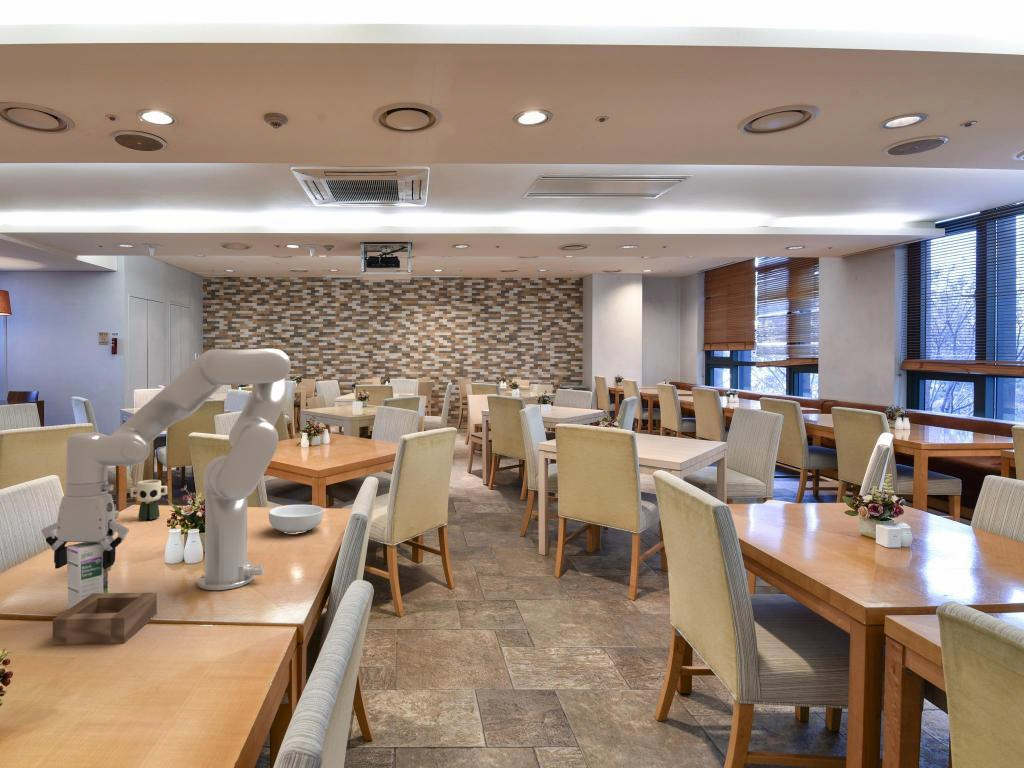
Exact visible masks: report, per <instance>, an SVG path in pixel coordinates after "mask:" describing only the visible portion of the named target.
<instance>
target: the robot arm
mask: <svg viewBox="0 0 1024 768" xmlns="http://www.w3.org/2000/svg"><path fill="white" fill-rule="evenodd" d="M291 368H292V364H291V360H290V358H289V355H287V354H286V352H284V351H283V350H282V349H279V348H272V347H271V348H264V347H263V348H254V349H253V348H251V349H246V348H245V349H225V348H221V349H218V348H217V349H215V348H214V349H209V350H207V351H205V352H203V353H202V354H201V355H199V356H198V357H197V358H196V359H195V360H193V361H192V363H190V365H188V366H187V367H186V368H185V369H184V370H183V371H182V372H181V373H180V374H179V375H177V376H176V377H175V378H174V379H172V381H171V382H170V383H168V384H167V385H166V386H165V387H164V388H163V389H161V390H160V392H158V393H157V394H156V395H154V397H152V398H151V399H150V400H149V401H148V402H147V403H146V404H144V405H143V406H142V407H140V408H139V409H138V410H137V411H136V412H135V413H133V414H132V415H131V416H130V417H129V418H128V419H126V420H125V422H123V423H122V425H121V426H119V427H118V428H117V429H116V430H115V431H113V433H112V434H111V435H107V434H104V433H101V432H79V433H74V434H71V435H69V436H68V437H67V439H66V458H65V459H66V460H65V461H66V464H65V465H66V466H65V468H66V469H65V495H63V496H62V498H61V501H60V504H59V507H58V508H59V509H58V513H57V514H58V515H57V521H56V522H55V523H53V524H50V525H48V526H45V527H44V528H42V529H41V533H42V536H43V538H45V542H46V543H47V544H48V545H49V546H50V547H51V550H52V551H53V552H54V553H53V563H54V569H60V568H63V567H64V566H67V546H68V545H67V544H68V543H83V542H100V543H101V544H102V545H103V546H104V548H105V549H106V550H105V551H103V569H107V568H109V567H110V566H113V565H114V564H115V561H116V551H117V550H116V548H117V547H119V545H120V544H121V543H122V542H123V541H124V540H125V538H126V536H127V535H128V533H129V531H130V530H129V528H128V527H126V526H124V525H122V524H120V523H118V522H116V519H115V509H116V508H115V505H114V503H115V502H114V500H113V499H114V498H113V496H112V494H111V493H109V492H110V491H113V490H114V484H110V483H109V480H108V479H109V478H108V477H109V473H108V472H109V466H118V467H133V466H137V465H140V464H141V463H143V462H145V461H146V460H147V459H148V457H149V455H150V452H151V446H150V445H151V443H152V442H153V441H155V439H156V438H158V437H159V436H160V435H161V434H163V432H165V430H167V429H169V427H171V426H173V425H174V424H177V423H178V422H180V421H182V420H185V419H187V418H189V417H190V416H191V415H194V413H195V412H196V411H197V410H198V409H200V408H201V406H203V404H205V402H207V400H209V399H210V398H211V397H212V396H213V395H214V394H215V393H216V392H217V391H218V390H219V389H220V388H221V387H223V386H240V385H241V386H242V385H252V389H251V393H250V396H249V398H248V400H247V401H246V404H245V406H244V407H243V408H242V411H241V413H240V414H239V416H238V417H237V419H236V421H235V423H234V424H233V426H232V428H231V430H230V431H229V435H228V440H229V445H230V446H231V447H232V448H231V449H230V451H229V452H228V455H227V454H226V455H219V456H217V457H215V458H213V459H212V460H211V461H210V462H209V463H208V464H207V465H206V467H205V470H204V473H203V481H202V482H203V491H204V505H205V506H204V507H205V508H204V512H205V513H204V514H205V515H204V517H205V522H204V523H205V525H204V531H205V533H204V574H203V575H201V576H200V577H199V578H198V579H197V586H198V588H200V589H202V590H208V591H225V590H231V589H237V588H239V587H242V586H245V585H247V584H249V583H250V582H252V581H253V580H254V576H263V575H264V574H265V568H264V567H263V566H262V565H261V564H260V565H259V564H258V565H256V564H255V565H253V564H251V563H252V561H251V559H248V497H249V496H250V495H251V494H253V492H254V491H255V489H256V488H257V487H258V485H259V484H260V481H261V480H262V478H263V476H264V474H265V472H266V471H267V469H268V467H269V466H270V464H271V461H272V460H273V458H274V456H275V454H276V452H277V449H278V446H279V438H280V437H279V434H278V430H277V429H276V427H275V425H276V423H277V421H278V419H279V417H280V415H281V413H282V411H283V409H284V407H285V404H286V401H287V397H288V387H287V380H286V377H287V376H288V375H289V374H290V373H291V372H290V371H291ZM54 531H56V535H55V534H54ZM116 532H117V533H118V534H117V536H116V538H115V537H114V536H115V535H116ZM112 536H113V537H112ZM66 545H67V546H66Z"/></svg>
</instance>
